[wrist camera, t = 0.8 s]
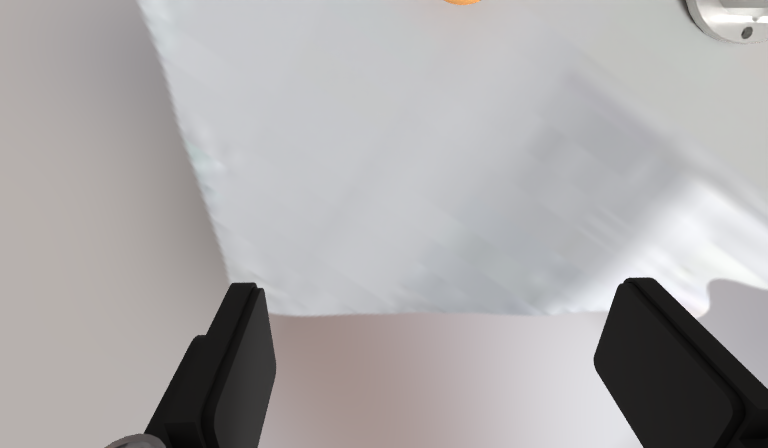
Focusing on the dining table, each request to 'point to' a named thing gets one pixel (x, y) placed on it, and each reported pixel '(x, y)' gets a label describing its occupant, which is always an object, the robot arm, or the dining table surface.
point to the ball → (462, 1)
